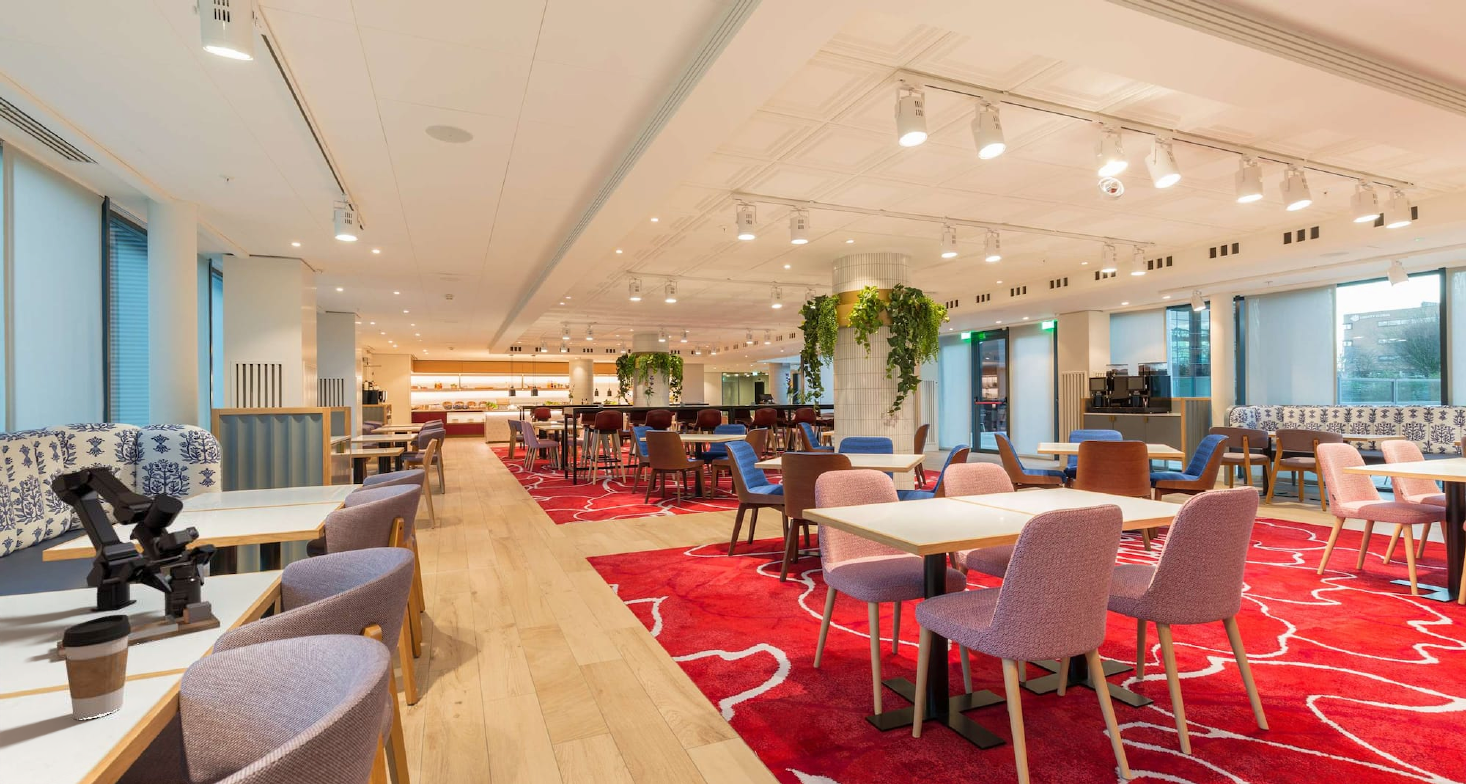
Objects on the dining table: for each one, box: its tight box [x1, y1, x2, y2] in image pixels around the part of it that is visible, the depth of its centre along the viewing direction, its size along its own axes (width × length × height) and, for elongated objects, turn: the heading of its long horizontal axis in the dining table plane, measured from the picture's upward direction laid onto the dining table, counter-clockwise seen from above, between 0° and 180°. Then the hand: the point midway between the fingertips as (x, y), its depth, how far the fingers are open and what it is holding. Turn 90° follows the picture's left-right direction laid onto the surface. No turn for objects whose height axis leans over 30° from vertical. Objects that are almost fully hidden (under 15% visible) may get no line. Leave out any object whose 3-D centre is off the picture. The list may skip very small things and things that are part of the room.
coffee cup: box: [61, 614, 131, 720], centre depth 112 cm, size 8×8×15 cm
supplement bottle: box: [164, 563, 202, 619], centre depth 162 cm, size 7×7×12 cm
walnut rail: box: [56, 600, 221, 662], centre depth 148 cm, size 26×11×5 cm, turn 137°
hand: (186, 589), depth 162 cm, fingers closed on supplement bottle, 7 cm apart
